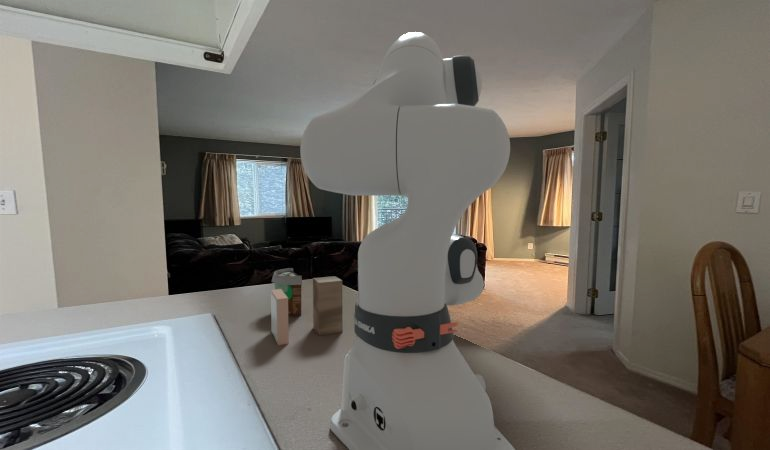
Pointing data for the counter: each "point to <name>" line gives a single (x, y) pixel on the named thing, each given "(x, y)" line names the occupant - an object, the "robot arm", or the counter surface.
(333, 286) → the block
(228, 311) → the counter surface
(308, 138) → the robot arm
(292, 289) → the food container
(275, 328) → the tile
